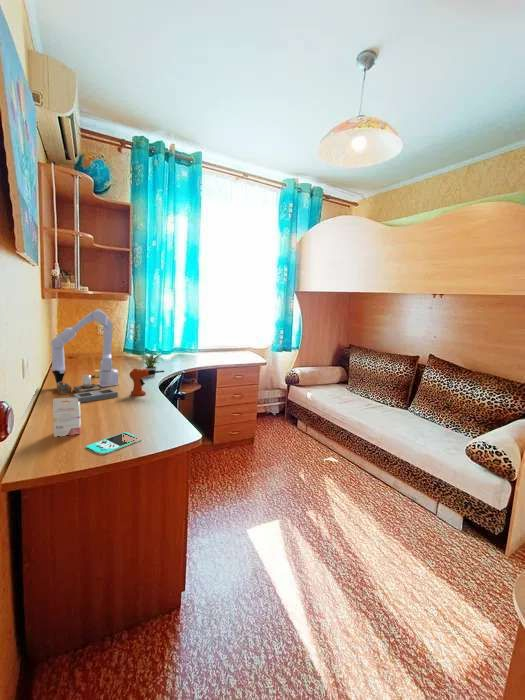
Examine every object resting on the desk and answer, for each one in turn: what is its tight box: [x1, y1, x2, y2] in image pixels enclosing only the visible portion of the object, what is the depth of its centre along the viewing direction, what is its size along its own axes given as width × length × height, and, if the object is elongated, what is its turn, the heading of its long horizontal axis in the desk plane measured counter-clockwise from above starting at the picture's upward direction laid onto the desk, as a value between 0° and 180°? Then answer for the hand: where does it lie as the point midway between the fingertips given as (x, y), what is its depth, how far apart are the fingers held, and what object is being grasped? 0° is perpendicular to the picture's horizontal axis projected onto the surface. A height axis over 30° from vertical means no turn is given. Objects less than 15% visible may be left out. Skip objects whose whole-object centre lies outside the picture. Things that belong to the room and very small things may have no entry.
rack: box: [73, 388, 119, 404], centre depth 163 cm, size 18×8×2 cm, turn 136°
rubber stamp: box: [94, 358, 102, 378], centre depth 205 cm, size 10×6×12 cm, turn 117°
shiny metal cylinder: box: [82, 374, 92, 389], centre depth 171 cm, size 4×4×9 cm
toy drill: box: [128, 368, 165, 397], centre depth 173 cm, size 5×19×15 cm, turn 100°
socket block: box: [73, 383, 102, 394], centre depth 172 cm, size 10×10×2 cm
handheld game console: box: [85, 431, 137, 453], centre depth 115 cm, size 10×16×1 cm, turn 148°
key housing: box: [56, 382, 72, 395], centre depth 169 cm, size 4×10×4 cm, turn 46°
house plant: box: [142, 352, 160, 378], centre depth 211 cm, size 14×14×16 cm
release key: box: [56, 381, 66, 387], centre depth 172 cm, size 2×9×2 cm, turn 46°
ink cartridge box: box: [52, 397, 82, 438], centre depth 120 cm, size 9×5×15 cm, turn 114°
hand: (59, 383), depth 175 cm, fingers closed
